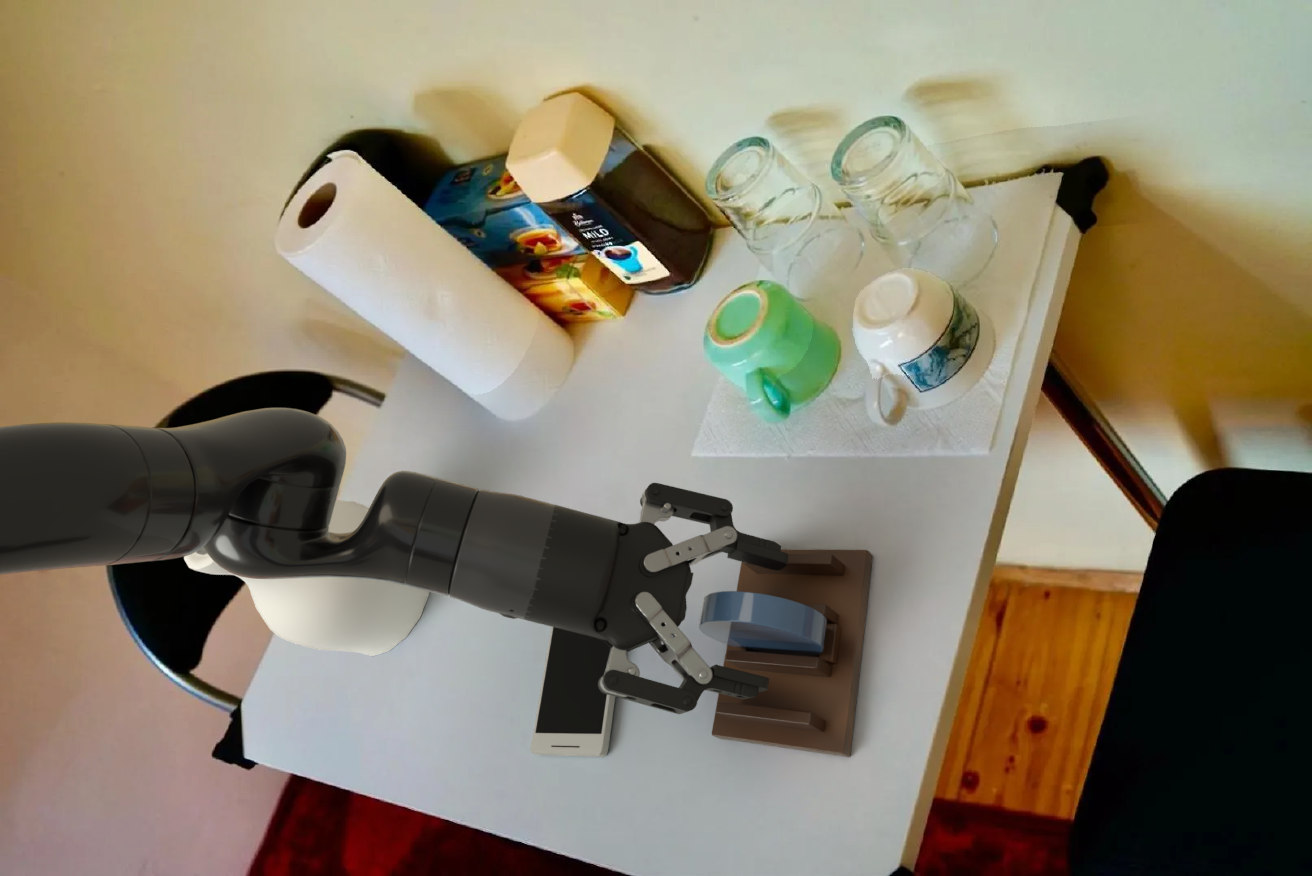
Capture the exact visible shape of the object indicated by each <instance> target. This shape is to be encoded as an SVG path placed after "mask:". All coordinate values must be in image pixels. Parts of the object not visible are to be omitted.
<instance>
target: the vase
mask: <svg viewBox="0 0 1312 876" xmlns="http://www.w3.org/2000/svg"><path fill="white" fill-rule="evenodd" d="M369 508H370V507H368V506H366V505H364V504H362V503H358V502H355V501H348V500H341V499H340V500H339V499H336V502H335V506H334V509H333V513H332V517H331V521H330V524H329V525H328V526H329V529H328V531H329V532H333V533H349V532H352V531H354V530H355V529H357V528H358V526H359V525H360V524H361V522H362V521H363V519H364V517H365V515H366V514H367V512H368V510H369ZM183 560H184V562H185V563H186V566H187V567H188V568H189V569H190V570H193V571H195V572H200V573H204V574H209V575H216V576H217V575H218V576H219V575H220V576H221V575H222V576H224V575H225V576H235V577H237V578H239V579H240V580H241V581H243V582H244V583H245V584H246V586H247V587H248V589H249V593H250V595H251V598H252V601H253V605H254V606H255V609H256V611H257V612H258V614H259V615H260V617H261V618H262V620H263V621H264V623H265V624H266V626H267V627H268V629H269V630H270V631H271V632H272V633H274V635H275V636H277V637H278V638H280V639H282V640H284V641H286V642H289V643H292V644H294V645H295V644H296V645H298V646H299V645H300V646H303V647H306V648H309V649H314V650H320V651H330V652H347V653H348V652H349V653H357V654H362V655H366V656H370V657H375V656H378V655H381V654H384V653H388V652H391V650H392V649H393V648H395V647H396V646H397V645H399V644H400V643H401V642H403V641H404V640H405V639H406V638H407V637H408V636H409V634H410V633H411V631H412V630H413V629H414V627H415V626H416V624H417V623H418V622H419V620H420V618H421V617H422V614H423V611H424V609H425V607H426V603H427V602H428V599H429V596H430V592H428V591H424V590H420V589H416V588H412V587H408V586H405V585H400V584H396V583H392V582H387V581H379V580H369V579H356V578H332V577H329V578H294V579H253V578H246V577H242V576H238V575H235V574H233V573H230V572H229V571H227V570H225V569H224V568H222V567H220V566H219V565H218V564H217V563H216V562H214V561H213V560H212V559H211V557H210V556H209V555H208V554H207V552H206V550H205V548H204V547H203V548H202V549H200V550H199V551H197V552H195V553H193V554H190V555H187V556H185V557H183Z"/></svg>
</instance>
